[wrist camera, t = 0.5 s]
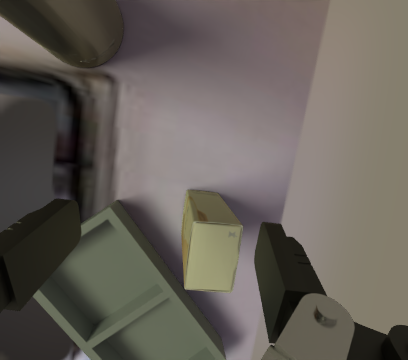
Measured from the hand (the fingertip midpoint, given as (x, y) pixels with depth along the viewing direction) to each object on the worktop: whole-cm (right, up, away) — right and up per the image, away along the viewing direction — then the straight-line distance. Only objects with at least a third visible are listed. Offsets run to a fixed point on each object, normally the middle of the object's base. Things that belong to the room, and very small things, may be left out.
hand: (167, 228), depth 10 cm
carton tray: (-8, -14, +22) cm, 27 cm away
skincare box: (+1, -2, +21) cm, 21 cm away
